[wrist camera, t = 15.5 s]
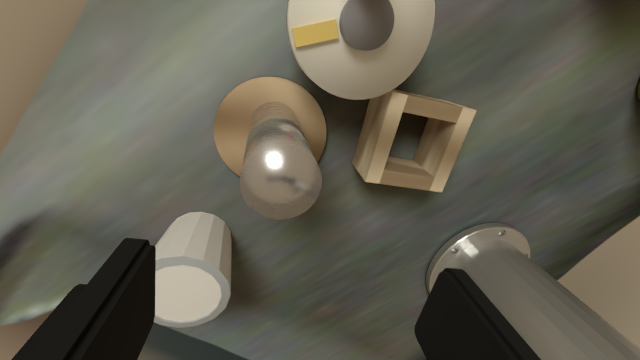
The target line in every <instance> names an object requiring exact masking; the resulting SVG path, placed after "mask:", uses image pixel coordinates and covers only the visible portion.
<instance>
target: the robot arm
mask: <svg viewBox="0 0 640 360" xmlns="http://www.w3.org/2000/svg"><path fill="white" fill-rule="evenodd" d="M155 271H156V248H155V246H153V245H150V244H149V241H148V240H144V239H133V238H125V239H124V240H123V241H122V242H121V243H120V245H119V246H118V247H117V248H116V249H115V251H114V252H113V253H112V254H111V256H110V257H109V258H108V259H107V261H106V262H105V263H104V264H103V266H102V267H101V268H100V269H99V270H98V272H97V273H96V274H95V275H94V277H93V278H92V279H91V280H90V282H89V283H88V284H87V285H85V284H79V285H77V286H75V287H74V288H73V289H72V290H71V291H70V292H69V293H68V294H67V296H66V297H65V298H64V299H63V300H62V301H61V303H60V304H59V305H58V306H57V307H56V308H55V310H54V311H53V312H52V313H51V314H50V315H49V317H48V318H47V319H46V320H45V321H44V322H43V324H42V325H41V326H40V327H39V328H38V329H37V331H36V332H35V333H34V334H33V335H32V336H31V337H30V339H29V340H28V341H27V342H26V343H25V344H24V346H23V347H22V348H21V349H20V350H19V352H18V353H17V354H16V355H15V356H14V357H13V359H12V360H137V359H138V356H139V354H140V352H141V350H142V348H143V345H144V343H145V341H146V339H147V337H148V334H149V332H150V330H151V328H152V325H153V322H154V318H155ZM426 287H427V290H428V292H429V296H428V299H427V301H426V303H425V305H424V307H423V309H422V312H421V314H420V316H419V318H418V320H417V323H416V325H415V335H416V338H417V340H418V342H419V344H420V346H421V348H422V350H423V352H424V354H425V356H426V358H427V360H640V348H639V347H637V346H636V345H635V344H634V343H632V342H631V341H630V340H629V339H627V338H626V337H625V336H624V335H623V334H621V333H620V332H619V331H618V330H616V329H615V328H614V327H613V326H612V325H610V324H609V323H608V322H607V321H605V320H604V319H603V318H602V317H601V316H599V315H598V314H597V313H596V312H594V311H593V310H592V309H591V308H590V307H588V306H587V305H586V304H585V303H583V302H582V301H581V300H580V299H579V298H577V297H576V296H575V295H574V294H572V293H571V292H570V291H569V290H568V289H566V288H565V287H564V286H562V285H561V284H560V283H559V282H558V281H556V280H555V279H554V278H553V277H552V276H550V275H549V274H548V273H547V272H545V271H544V270H543V269H542V268H541V267H539V266H538V265H537V264H536V263H534V262H533V261H532V260H531V259H530V246H529V243H528V241H527V239H526V238H525V237H524V236H523V234H522V233H520V232H519V231H518V230H516V229H515V228H513V227H511V226H509V225H507V224H502V223H485V224H481V225H476V226H474V227H471V228H468V229H466V230H464V231H462V232H460V233H458V234H457V235H455V236H454V237H453V238H451V239H450V240H448V241H447V242H446V243H445V244H444V245H443V246H442V247H441V248H440V249H439V251H438V252H437V253H436V254H435V256H434V257H433V259H432V261H431V263H430V264H429V267H428V270H427V274H426Z"/></svg>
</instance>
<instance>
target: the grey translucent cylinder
mask: <svg viewBox="0 0 640 360" xmlns="http://www.w3.org/2000/svg"><path fill="white" fill-rule="evenodd" d="M321 187H322V176H321V172H320V169H319V167H318V164H317V162H316V160H315V157H314V155H313V153H312V151H311V148H310V146H309V144H308V141H307V139H306V137H305V134H304V132H303V130H302V128H301V125H300V123H299V121H298V118H297V116H296V114H295V113H294V111H293V110H292V109H291V108H290V107H289V106H287V105H286V104H284V103H281V102H267V103H265V104H262V105H261V106H259V107H258V108H257V109H256V110H255V112H254V113H253V115H252V118H251V122H250V128H249V133H248V138H247V144H246V149H245V154H244V159H243V165H242V170H241V175H240V191H241V194H242V197H243V199H244V201H245V202H246V204H247V205H248V206H249V207H250V208H251V209H252V210H253V211H255V212H256V213H258V214H259V215H261V216H264V217H267V218H271V219H289V218H293V217H296V216H298V215H300V214H302V213H304V212H305V211H307V210H308V209H309V208H310V207H311V206H312V205H313V204H314V203H315V202H316V200H317V198H318V196H319V194H320V191H321Z"/></svg>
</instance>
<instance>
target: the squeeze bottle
mask: <svg viewBox="0 0 640 360" xmlns="http://www.w3.org/2000/svg"><path fill="white" fill-rule="evenodd" d="M638 99H639V101H640V82H639V85H638Z"/></svg>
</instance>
